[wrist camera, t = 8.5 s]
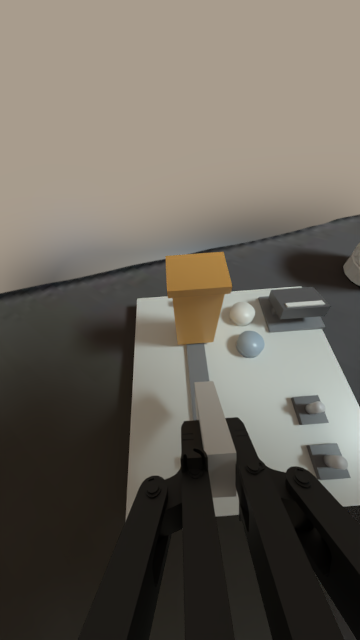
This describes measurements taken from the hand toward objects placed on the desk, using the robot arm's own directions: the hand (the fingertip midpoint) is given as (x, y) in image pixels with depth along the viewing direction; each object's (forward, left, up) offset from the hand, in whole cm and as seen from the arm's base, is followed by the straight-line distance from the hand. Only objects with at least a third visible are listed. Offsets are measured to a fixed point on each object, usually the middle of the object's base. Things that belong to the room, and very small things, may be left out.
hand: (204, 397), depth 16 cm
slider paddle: (0, -8, -4) cm, 9 cm away
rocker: (-12, -10, -2) cm, 16 cm away
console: (-4, -3, -7) cm, 8 cm away
